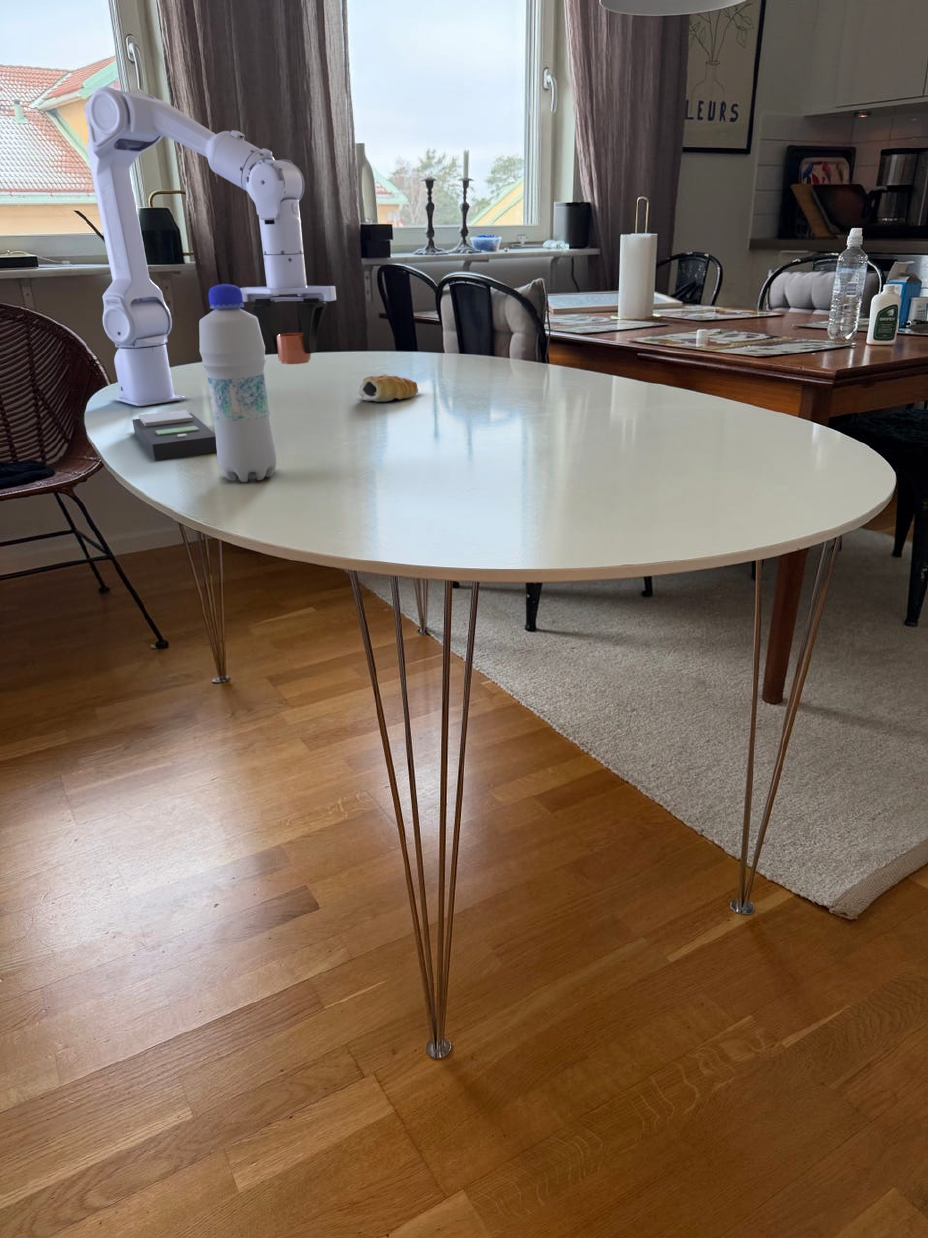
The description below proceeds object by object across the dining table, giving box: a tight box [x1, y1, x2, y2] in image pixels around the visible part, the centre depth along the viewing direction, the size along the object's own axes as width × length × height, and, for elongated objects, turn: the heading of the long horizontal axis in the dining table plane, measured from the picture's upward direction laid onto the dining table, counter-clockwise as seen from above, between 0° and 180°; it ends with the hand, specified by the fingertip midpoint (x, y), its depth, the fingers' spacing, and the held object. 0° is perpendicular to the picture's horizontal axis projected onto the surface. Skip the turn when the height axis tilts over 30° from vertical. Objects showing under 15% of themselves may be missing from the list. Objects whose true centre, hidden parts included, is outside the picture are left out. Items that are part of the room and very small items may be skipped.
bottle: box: [198, 283, 277, 483], centre depth 91 cm, size 7×7×20 cm
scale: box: [131, 409, 217, 462], centre depth 112 cm, size 18×8×2 cm, turn 27°
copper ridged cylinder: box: [276, 332, 312, 365], centre depth 128 cm, size 5×5×4 cm
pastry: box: [359, 374, 419, 403], centre depth 136 cm, size 9×7×4 cm
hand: (294, 352), depth 128 cm, fingers closed on copper ridged cylinder, 5 cm apart
